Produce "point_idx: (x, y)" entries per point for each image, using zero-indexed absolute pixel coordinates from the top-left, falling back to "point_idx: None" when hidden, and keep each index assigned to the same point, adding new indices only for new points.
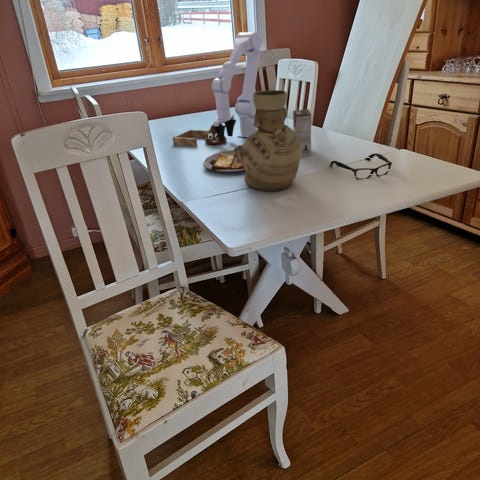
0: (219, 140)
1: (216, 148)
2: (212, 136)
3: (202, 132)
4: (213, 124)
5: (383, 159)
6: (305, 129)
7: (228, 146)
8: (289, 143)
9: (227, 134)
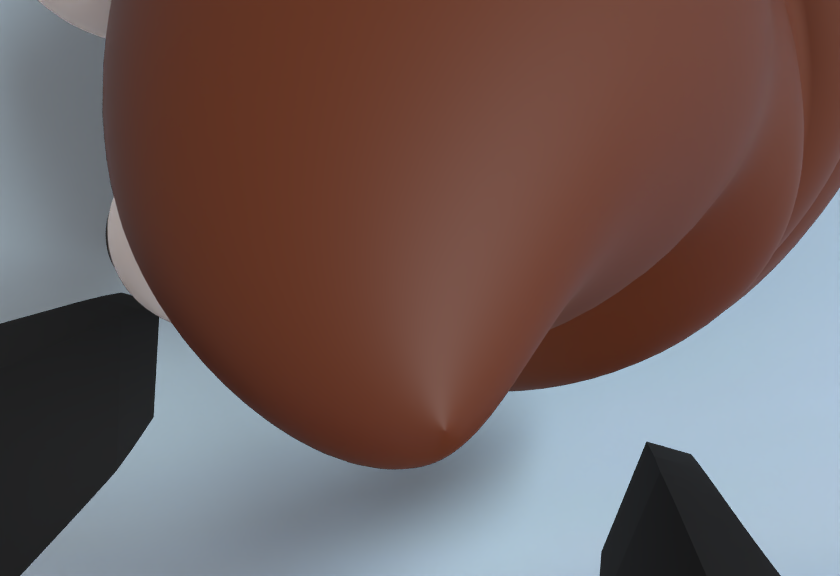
0: (105, 299)
1: (23, 194)
2: (103, 34)
3: None
4: (109, 137)
5: None
6: None
7: (210, 431)
8: None
9: (659, 466)
